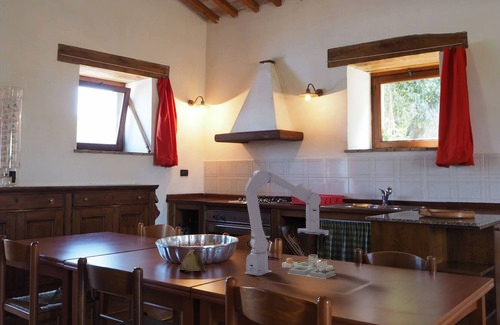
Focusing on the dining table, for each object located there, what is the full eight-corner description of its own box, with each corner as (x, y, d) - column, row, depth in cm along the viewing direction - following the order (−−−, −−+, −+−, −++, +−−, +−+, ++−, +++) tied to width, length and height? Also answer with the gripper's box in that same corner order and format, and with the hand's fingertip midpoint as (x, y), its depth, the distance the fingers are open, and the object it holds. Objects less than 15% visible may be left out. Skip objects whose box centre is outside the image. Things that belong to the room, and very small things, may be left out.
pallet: (324, 280, 182) (324, 274, 182) (286, 275, 193) (286, 269, 193) (336, 276, 189) (336, 270, 190) (299, 271, 201) (299, 265, 201)
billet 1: (314, 270, 199) (314, 256, 199) (306, 269, 202) (306, 255, 202) (319, 269, 202) (319, 254, 203) (311, 268, 205) (311, 253, 205)
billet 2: (324, 276, 185) (323, 261, 185) (315, 275, 188) (315, 260, 188) (328, 275, 188) (328, 259, 189) (320, 273, 191) (320, 258, 191)
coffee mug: (270, 254, 244) (270, 235, 244) (269, 257, 236) (269, 237, 236) (248, 254, 245) (248, 235, 246) (246, 257, 237) (246, 237, 237)
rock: (172, 266, 202) (186, 265, 195) (180, 249, 207) (194, 248, 200) (188, 278, 208) (203, 278, 201) (196, 261, 212) (210, 260, 205)
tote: (324, 274, 194) (323, 268, 194) (293, 269, 203) (293, 264, 204) (333, 270, 201) (333, 265, 201) (303, 266, 210) (303, 262, 210)
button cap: (290, 266, 205) (290, 259, 205) (285, 265, 207) (285, 258, 207) (293, 265, 207) (293, 258, 208) (288, 264, 209) (288, 257, 209)
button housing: (291, 269, 204) (291, 264, 204) (281, 268, 207) (281, 262, 207) (297, 268, 208) (297, 262, 208) (288, 266, 211) (288, 261, 211)
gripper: (331, 219, 201) (332, 250, 201) (303, 218, 210) (303, 248, 210) (323, 220, 196) (324, 253, 195) (294, 219, 205) (295, 250, 204)
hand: (313, 250), depth 202 cm, fingers open, 7 cm apart
